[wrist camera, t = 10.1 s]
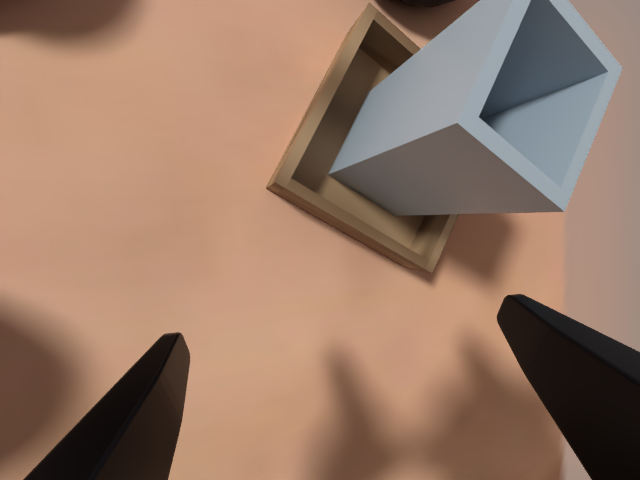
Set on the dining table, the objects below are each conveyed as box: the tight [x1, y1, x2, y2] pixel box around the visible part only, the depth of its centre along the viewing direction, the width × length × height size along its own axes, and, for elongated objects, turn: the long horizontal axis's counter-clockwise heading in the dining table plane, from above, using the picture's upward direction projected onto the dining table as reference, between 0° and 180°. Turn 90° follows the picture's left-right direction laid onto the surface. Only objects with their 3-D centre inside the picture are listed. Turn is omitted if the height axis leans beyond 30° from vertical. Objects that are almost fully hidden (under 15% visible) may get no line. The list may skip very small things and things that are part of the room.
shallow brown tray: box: [266, 2, 459, 273], centre depth 19 cm, size 11×11×3 cm
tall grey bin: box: [328, 0, 622, 216], centre depth 15 cm, size 6×6×10 cm
